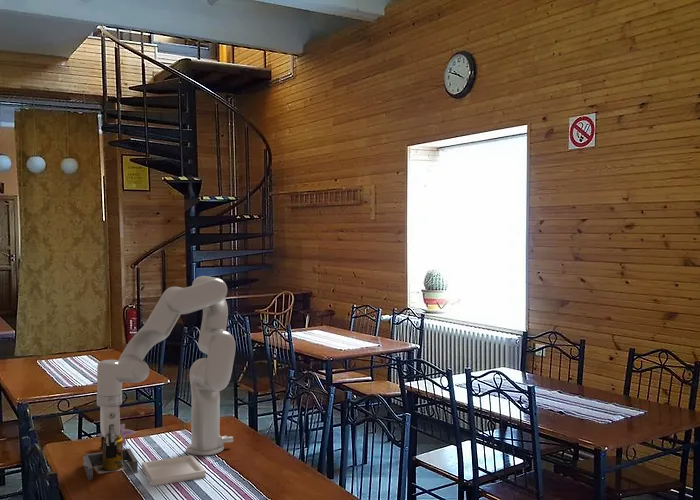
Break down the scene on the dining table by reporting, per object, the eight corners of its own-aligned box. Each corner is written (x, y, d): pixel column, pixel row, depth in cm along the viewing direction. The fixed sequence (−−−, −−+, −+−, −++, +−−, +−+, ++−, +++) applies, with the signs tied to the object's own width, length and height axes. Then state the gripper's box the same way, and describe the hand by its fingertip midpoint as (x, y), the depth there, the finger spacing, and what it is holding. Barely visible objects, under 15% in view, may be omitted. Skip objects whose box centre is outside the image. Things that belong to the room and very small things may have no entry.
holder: (129, 458, 222) (129, 448, 222) (137, 472, 210) (137, 461, 210) (83, 465, 215) (83, 454, 215) (88, 479, 203) (88, 468, 203)
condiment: (126, 469, 212) (126, 431, 212) (98, 474, 208) (98, 436, 207) (120, 462, 218) (120, 426, 218) (93, 467, 214) (93, 430, 213)
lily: (140, 449, 234) (139, 422, 239) (120, 446, 224) (119, 417, 228) (111, 457, 237) (110, 430, 241) (89, 454, 226) (89, 426, 231)
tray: (192, 461, 220) (192, 455, 220) (205, 477, 206) (205, 470, 206) (142, 468, 213) (142, 462, 213) (152, 486, 199) (152, 479, 199)
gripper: (126, 404, 206) (125, 459, 207) (117, 392, 222) (116, 443, 222) (100, 407, 203) (100, 463, 203) (93, 394, 218) (92, 446, 219)
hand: (108, 453), depth 213 cm, fingers open, 9 cm apart
